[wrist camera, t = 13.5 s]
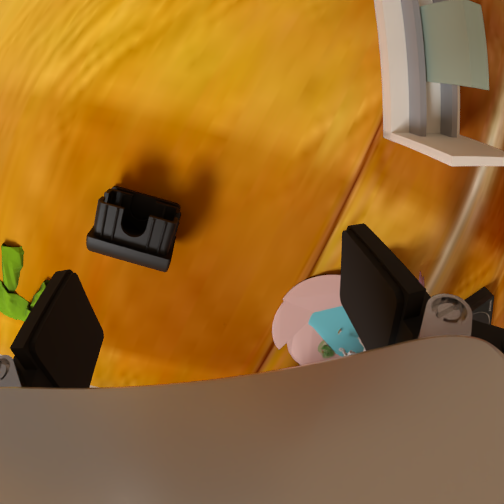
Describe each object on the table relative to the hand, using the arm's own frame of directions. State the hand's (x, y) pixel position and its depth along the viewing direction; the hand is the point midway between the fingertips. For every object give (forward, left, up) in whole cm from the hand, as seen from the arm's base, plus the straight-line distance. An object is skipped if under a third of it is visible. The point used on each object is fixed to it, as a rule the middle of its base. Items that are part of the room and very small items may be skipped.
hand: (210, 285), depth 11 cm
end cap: (+8, -10, -29) cm, 31 cm away
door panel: (-12, +28, -26) cm, 40 cm away
